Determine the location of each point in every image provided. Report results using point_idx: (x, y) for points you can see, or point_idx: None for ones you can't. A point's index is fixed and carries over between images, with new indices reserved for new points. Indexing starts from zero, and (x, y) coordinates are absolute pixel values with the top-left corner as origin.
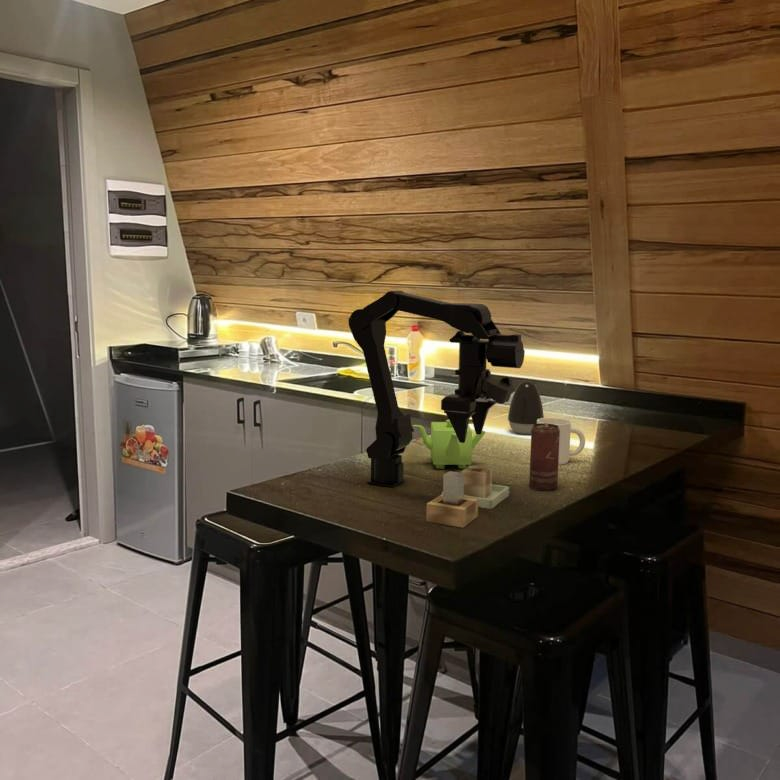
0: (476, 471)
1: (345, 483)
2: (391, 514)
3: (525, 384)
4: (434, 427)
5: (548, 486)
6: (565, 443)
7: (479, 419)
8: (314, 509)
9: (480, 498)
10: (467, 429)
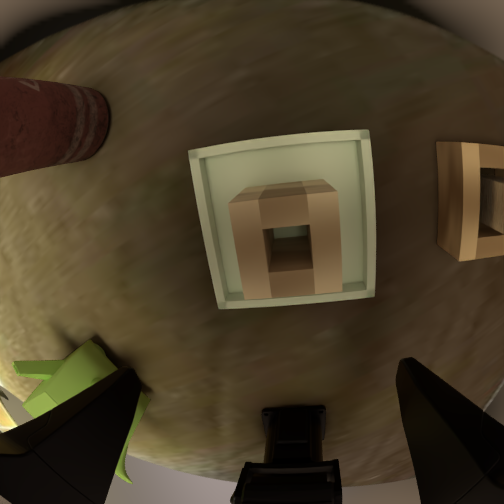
0: (313, 239)
1: (337, 451)
2: (484, 315)
3: None
4: None
5: (96, 91)
6: None
7: (92, 437)
8: (475, 403)
9: (371, 169)
10: (45, 401)
